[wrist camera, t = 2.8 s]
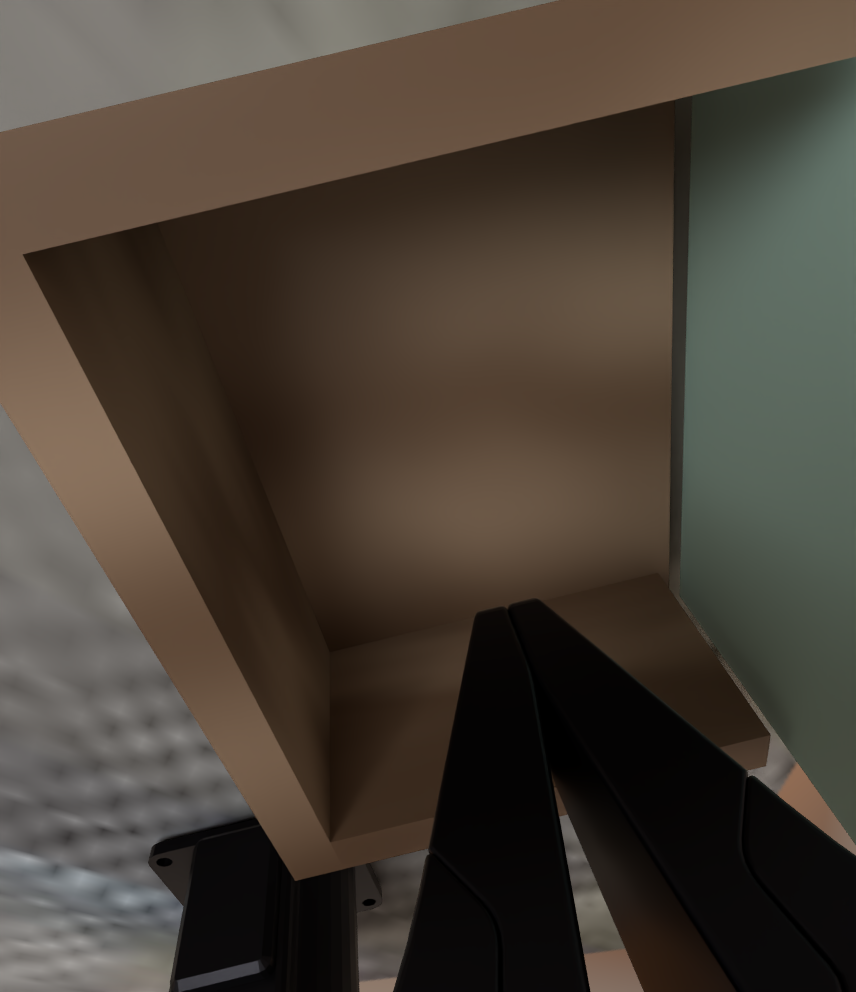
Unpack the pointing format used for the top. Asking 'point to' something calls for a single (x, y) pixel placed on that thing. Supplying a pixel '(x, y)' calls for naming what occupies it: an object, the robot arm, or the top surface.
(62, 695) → the top surface
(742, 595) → the panel
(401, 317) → the crate
